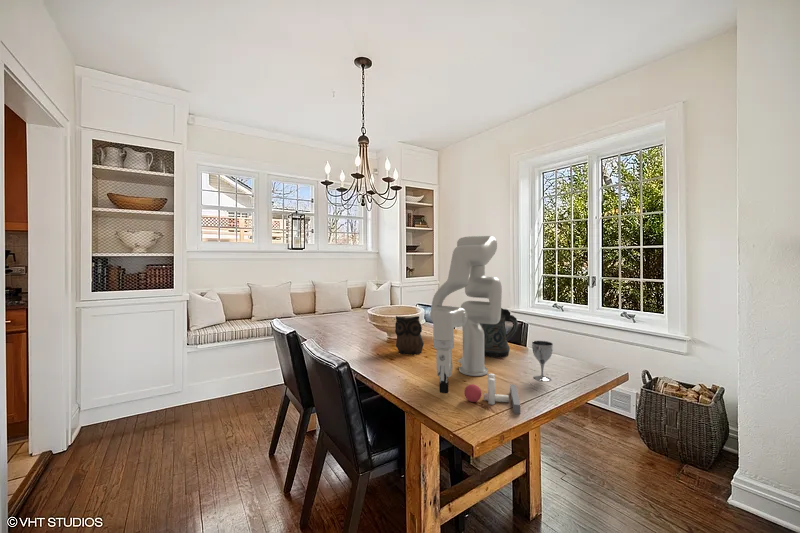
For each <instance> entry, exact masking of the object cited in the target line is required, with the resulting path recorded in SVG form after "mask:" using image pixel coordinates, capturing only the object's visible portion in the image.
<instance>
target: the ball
mask: <svg viewBox="0 0 800 533" xmlns="http://www.w3.org/2000/svg"><path fill="white" fill-rule="evenodd" d="M463 394H464V395H463V396H464V397H465V399H466V400H467V401H469V402H471V403H477V402H478V401H480V399H481V398H482V390H481V387H479V386H478V385H477V384H474V383H473V384H467V385H466V387H465V388H464V393H463Z"/></svg>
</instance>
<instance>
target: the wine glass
mask: <svg viewBox="0 0 800 533" xmlns="http://www.w3.org/2000/svg"><path fill="white" fill-rule="evenodd" d="M553 344H554V343H553V342H552V341H546V340H533V341H532V344H531V347H532V354H533V356H534V357H535V359H536V360H537V362H538V363H539V366H540V370H541V371H540V372H541V373H540V375H539V374H537V375H534V376H533V380H534V381H538V382H543V381H547V382H551V381H552V378H551V377H550V378H549V376H547V375H544V368H545V367H544V366H545V364H546V363H547V362H548V361H549V360H550V359H551V357H552V354H553V351H554V346H553ZM550 380H551V381H550Z"/></svg>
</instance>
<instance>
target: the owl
mask: <svg viewBox="0 0 800 533" xmlns="http://www.w3.org/2000/svg"><path fill="white" fill-rule="evenodd" d="M394 324H395V325H394V328H395V329H394V331H395V332H394V333H395V335H396V343H395V347H396V348H397V351H398V352H397V353H398V354H399V353H400V355H407V354H412V356H413V355H414V354H416V355H420V353H423V348H424V344H425V343H424V340H423V336H422V332H423V331H422V330H423V329H422V328H423V327H422V324H421V322H420V316H419V315H417V316H412V315H411V316H410V315H409V316H408V315H404V316H403V315H402V316H397V315H396V316H395V323H394ZM414 356H415V355H414Z"/></svg>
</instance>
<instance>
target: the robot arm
mask: <svg viewBox="0 0 800 533" xmlns="http://www.w3.org/2000/svg"><path fill="white" fill-rule="evenodd" d="M497 249H498V242H497V240H496V238H495V237H494V236H491V235H479V236H478V235H477V236H475V235H472V236H464V237H460V238H459V239H458V240H457V241H456V247H454V248H453V251H452V256H451V260H450V266H449V271H448V275H447V276H448V277H447V278H446V281H445V282H444V283H443V284H442V285H441V286H440V287H439V288H438V289H437V290H436V292H435V293H434V295H433V298H432V302H431V306H430V313H429V315H430V320H431V322H432V323H433V325H432V326H433V328H432V330H433V331H432V332H433V337H432V338H433V349H435V350H436V354H435V355H436V362H435V363H436V376H437V377H439V384H438V386H439V388H438V389H439V393H440V394H449V388H450V387H449V378H451V376H452V373H453V352H452V351H453V349H454V348H455V328H461V327H462V357H460V359H458V361H457V362H458V363H459V364H461V366H460V367H459V368H458V369H459V370H458V371H459V373H461V374H462V375H466V376H471V377H479V376H481V377H482V376H485V375H488V374H489V369H488V368H487V367H486V366H485V356H484V330H483V328H482V324H483V323H484V324H497V323H498V322H499V321H500V318H501V308H502V297H503V296H502V295H503V294H502V292H503V291H502V290H503V289H502V282H501V280H500V279H499V278H498V277H496V276H486V275H485V274H486V271H485V269H486V265H487V264H489V262H490V261H491V259H492V258H493V257H494V255H495V254H496V252H497ZM462 289H464V292H465V295H466V296H467V297H469V298H473V299H474V298H475V299H487V300H488V301H483V300H482V301H481V300H467V301H464V302H463V303H461V305H460V306H451V305H450V306H448V305H443V303H444V300H446V298H447V297H449V295H451V294H453V293H454V292H457V291H458V290H459V291H460V290H462Z"/></svg>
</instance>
